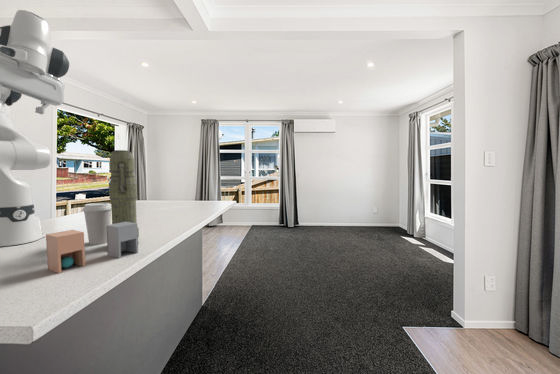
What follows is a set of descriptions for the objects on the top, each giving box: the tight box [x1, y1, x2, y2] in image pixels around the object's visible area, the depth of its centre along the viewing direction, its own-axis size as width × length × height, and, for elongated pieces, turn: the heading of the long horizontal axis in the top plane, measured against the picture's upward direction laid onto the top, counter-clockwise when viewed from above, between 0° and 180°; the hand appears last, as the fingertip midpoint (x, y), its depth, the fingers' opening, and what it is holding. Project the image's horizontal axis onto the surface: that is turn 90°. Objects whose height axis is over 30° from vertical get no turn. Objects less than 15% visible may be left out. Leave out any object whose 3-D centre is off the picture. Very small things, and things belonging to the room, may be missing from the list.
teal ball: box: [61, 256, 74, 269], centre depth 75 cm, size 3×3×3 cm
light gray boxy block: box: [106, 222, 139, 259], centre depth 87 cm, size 6×6×10 cm
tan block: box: [45, 229, 86, 274], centre depth 75 cm, size 6×6×10 cm
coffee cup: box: [82, 202, 112, 246], centre depth 101 cm, size 10×10×15 cm
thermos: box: [108, 149, 140, 244], centre depth 97 cm, size 9×12×35 cm
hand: (20, 107), depth 78 cm, fingers open, 8 cm apart
